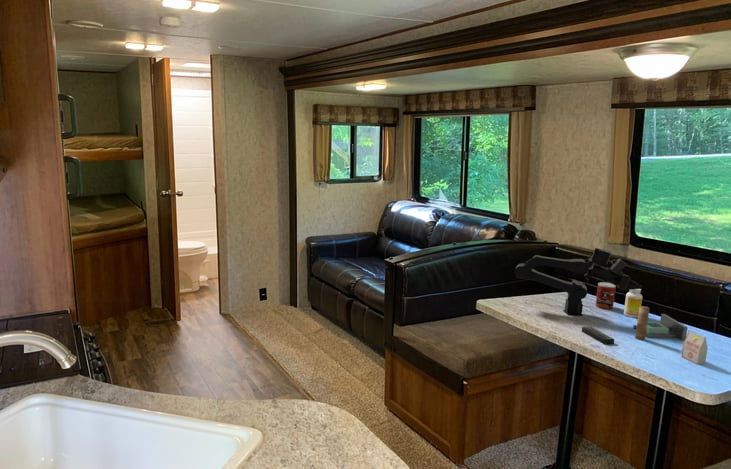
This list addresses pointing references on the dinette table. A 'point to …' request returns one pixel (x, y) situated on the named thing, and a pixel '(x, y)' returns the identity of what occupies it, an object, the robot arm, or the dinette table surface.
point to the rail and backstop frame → (674, 327)
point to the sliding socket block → (656, 328)
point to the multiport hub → (598, 335)
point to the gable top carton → (695, 348)
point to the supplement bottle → (633, 303)
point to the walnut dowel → (642, 323)
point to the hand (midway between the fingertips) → (639, 285)
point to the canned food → (605, 295)
